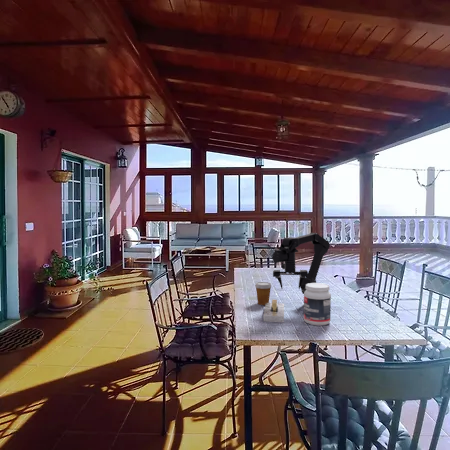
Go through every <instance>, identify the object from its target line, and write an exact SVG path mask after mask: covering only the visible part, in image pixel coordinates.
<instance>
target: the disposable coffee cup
mask: <svg viewBox="0 0 450 450" xmlns="http://www.w3.org/2000/svg"><path fill="white" fill-rule="evenodd" d="M254 286H255V290H256V299H257V304H258V305H259V306H265V305H266V303H270V296H271V295H270V294H271V288H272V284H271V282H268V281H258V282H255V284H254Z"/></svg>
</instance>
